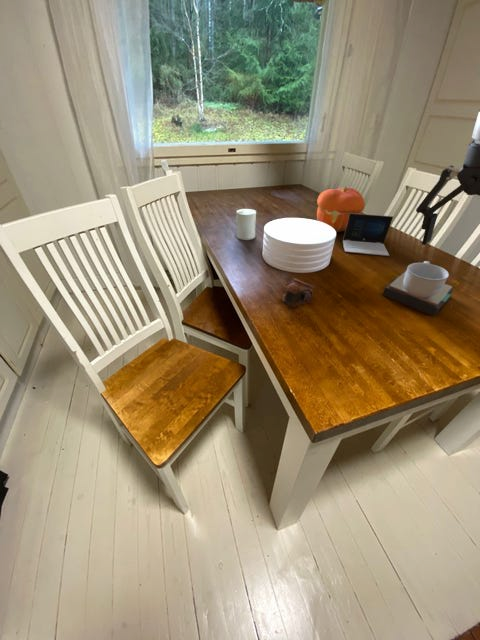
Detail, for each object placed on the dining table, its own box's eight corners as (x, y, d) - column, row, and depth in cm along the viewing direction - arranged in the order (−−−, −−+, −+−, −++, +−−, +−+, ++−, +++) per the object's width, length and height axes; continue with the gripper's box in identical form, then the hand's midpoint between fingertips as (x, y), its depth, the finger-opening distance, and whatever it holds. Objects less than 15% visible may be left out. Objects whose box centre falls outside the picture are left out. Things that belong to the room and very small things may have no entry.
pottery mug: (275, 297, 91) (285, 274, 89) (297, 304, 95) (307, 282, 93) (293, 309, 81) (304, 283, 79) (317, 317, 85) (328, 292, 83)
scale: (450, 297, 91) (456, 287, 89) (434, 317, 83) (441, 306, 80) (401, 278, 101) (405, 269, 98) (382, 295, 92) (386, 285, 89)
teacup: (433, 306, 80) (446, 283, 75) (394, 293, 85) (404, 270, 80) (441, 287, 89) (453, 264, 84) (405, 276, 94) (414, 254, 89)
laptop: (344, 252, 118) (352, 222, 110) (342, 241, 127) (349, 213, 119) (388, 257, 115) (400, 226, 107) (383, 245, 125) (393, 216, 116)
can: (233, 234, 133) (233, 208, 125) (250, 231, 136) (250, 206, 129) (241, 241, 126) (241, 214, 119) (258, 238, 130) (260, 212, 122)
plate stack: (296, 238, 130) (300, 213, 122) (344, 260, 112) (351, 233, 104) (249, 252, 117) (250, 225, 110) (294, 280, 99) (298, 250, 92)
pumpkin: (330, 240, 128) (341, 195, 116) (304, 224, 144) (310, 183, 132) (368, 233, 135) (381, 190, 123) (338, 219, 152) (348, 179, 139)
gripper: (411, 145, 54) (394, 243, 68) (599, 143, 37) (526, 274, 51) (430, 135, 57) (410, 231, 70) (613, 128, 40) (540, 256, 54)
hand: (458, 249), depth 61 cm, fingers open, 13 cm apart
